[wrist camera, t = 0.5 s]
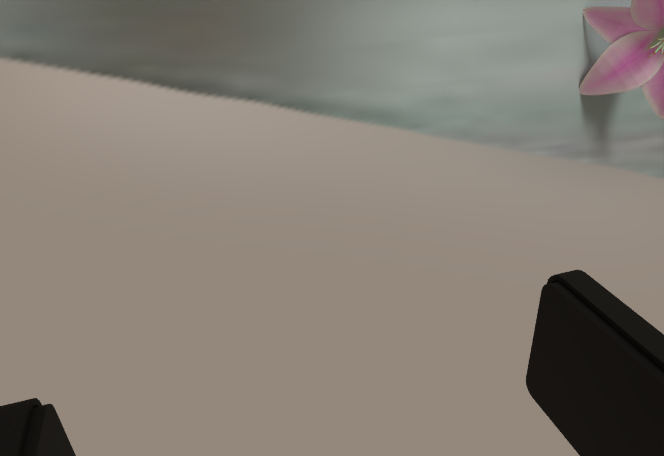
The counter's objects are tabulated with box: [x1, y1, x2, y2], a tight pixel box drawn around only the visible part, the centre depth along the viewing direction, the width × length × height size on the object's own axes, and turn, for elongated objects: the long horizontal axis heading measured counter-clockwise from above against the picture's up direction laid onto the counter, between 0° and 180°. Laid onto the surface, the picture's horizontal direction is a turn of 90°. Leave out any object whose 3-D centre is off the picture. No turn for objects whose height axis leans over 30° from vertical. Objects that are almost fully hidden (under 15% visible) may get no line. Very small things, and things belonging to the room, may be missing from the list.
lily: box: [579, 0, 664, 119], centre depth 41 cm, size 12×12×10 cm
